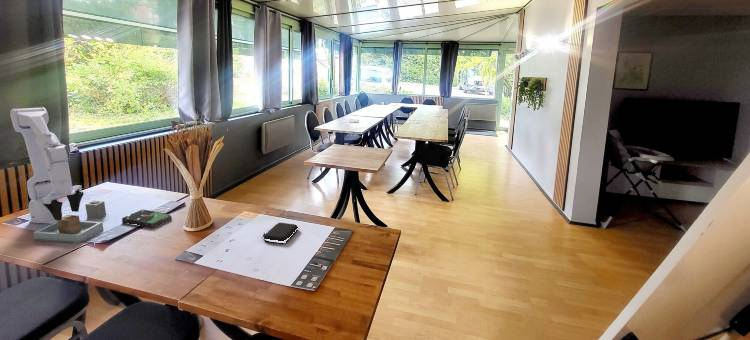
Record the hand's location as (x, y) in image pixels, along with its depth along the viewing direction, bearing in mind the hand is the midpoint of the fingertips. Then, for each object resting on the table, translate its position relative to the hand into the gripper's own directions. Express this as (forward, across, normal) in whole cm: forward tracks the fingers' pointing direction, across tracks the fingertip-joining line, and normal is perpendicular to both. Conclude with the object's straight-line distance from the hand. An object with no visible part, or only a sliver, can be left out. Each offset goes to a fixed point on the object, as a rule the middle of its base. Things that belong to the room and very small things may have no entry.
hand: (67, 215), depth 140 cm
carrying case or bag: (+8, +12, -75) cm, 76 cm away
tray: (+8, 0, 0) cm, 8 cm away
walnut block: (+7, 0, 0) cm, 7 cm away
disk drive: (+8, +16, -19) cm, 26 cm away
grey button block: (+8, +17, +3) cm, 19 cm away
